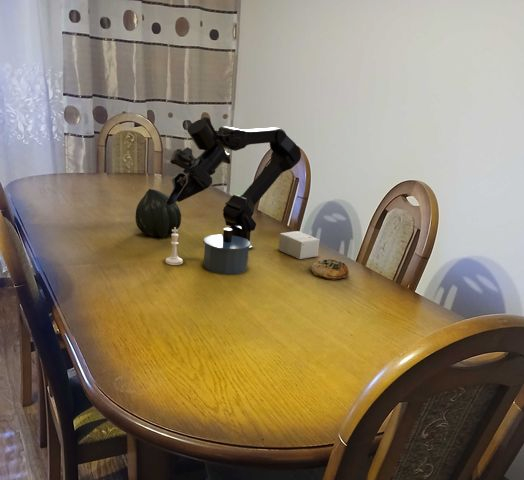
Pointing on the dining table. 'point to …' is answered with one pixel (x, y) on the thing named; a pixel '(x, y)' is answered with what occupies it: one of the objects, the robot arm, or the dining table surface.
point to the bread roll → (330, 269)
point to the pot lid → (227, 241)
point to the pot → (225, 260)
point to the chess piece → (174, 251)
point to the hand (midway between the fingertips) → (172, 202)
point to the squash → (157, 214)
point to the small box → (298, 244)
